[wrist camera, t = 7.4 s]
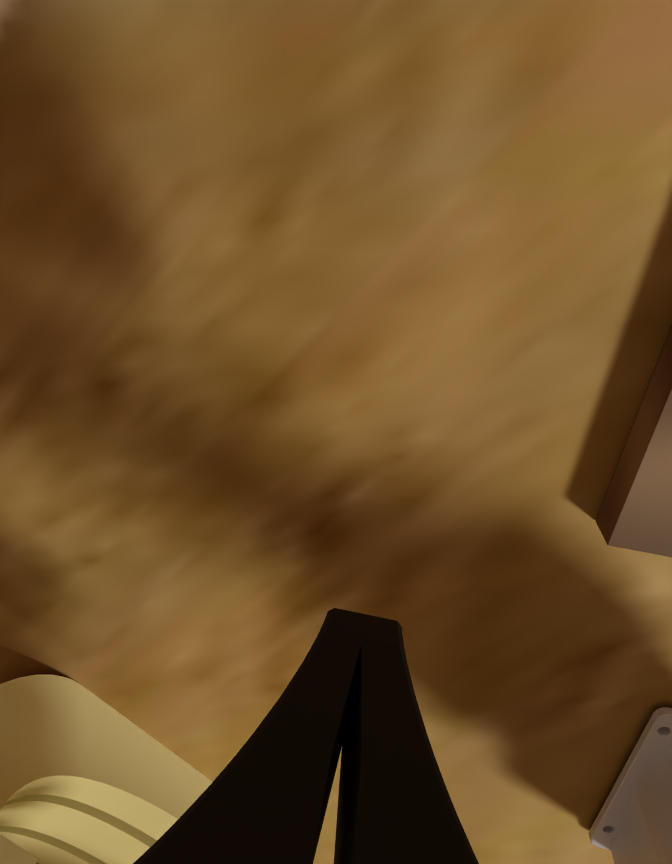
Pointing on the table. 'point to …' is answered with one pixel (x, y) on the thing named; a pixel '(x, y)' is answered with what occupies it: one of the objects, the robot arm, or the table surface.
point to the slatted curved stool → (82, 778)
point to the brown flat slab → (644, 473)
